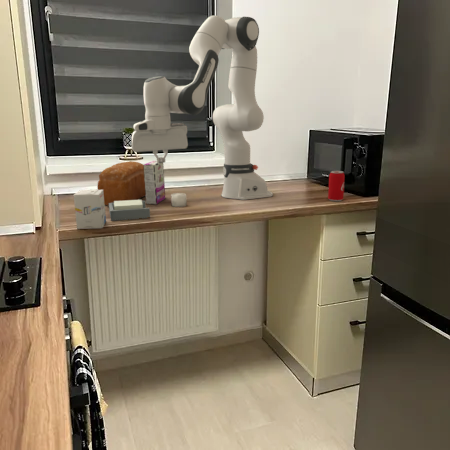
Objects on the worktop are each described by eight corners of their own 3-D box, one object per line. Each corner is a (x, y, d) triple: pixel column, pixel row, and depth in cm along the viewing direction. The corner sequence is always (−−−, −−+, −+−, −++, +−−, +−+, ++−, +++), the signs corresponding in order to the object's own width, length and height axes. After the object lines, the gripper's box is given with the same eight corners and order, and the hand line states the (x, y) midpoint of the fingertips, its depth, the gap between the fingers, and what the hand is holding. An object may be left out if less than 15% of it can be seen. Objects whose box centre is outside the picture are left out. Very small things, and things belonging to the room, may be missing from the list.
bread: (96, 205, 182) (92, 167, 178) (123, 193, 207) (120, 158, 203) (127, 207, 180) (125, 167, 175) (151, 194, 204) (149, 159, 200)
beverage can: (345, 200, 188) (347, 171, 185) (338, 202, 183) (340, 173, 180) (332, 198, 192) (334, 170, 189) (325, 200, 188) (326, 171, 184)
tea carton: (142, 212, 171) (141, 199, 170) (143, 218, 163) (142, 204, 161) (115, 214, 169) (114, 201, 168) (115, 220, 161) (114, 206, 159)
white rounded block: (184, 203, 185) (184, 192, 184) (187, 206, 179) (187, 195, 178) (170, 204, 183) (169, 193, 182) (172, 207, 178) (172, 196, 177)
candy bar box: (154, 198, 194) (152, 160, 190) (165, 199, 193) (164, 160, 189) (145, 204, 184) (142, 164, 179) (156, 204, 183) (154, 164, 178)
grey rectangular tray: (145, 209, 175) (145, 200, 174) (150, 217, 162) (149, 208, 161) (109, 211, 171) (108, 203, 170) (111, 220, 158) (110, 211, 157)
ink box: (81, 222, 157) (78, 189, 153) (106, 221, 157) (103, 188, 154) (76, 229, 148) (72, 194, 145) (102, 228, 149) (99, 193, 146)
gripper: (185, 122, 167) (187, 159, 171) (129, 125, 162) (132, 163, 165) (188, 123, 161) (190, 161, 165) (130, 126, 156) (134, 165, 160)
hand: (161, 162), depth 165 cm, fingers closed
